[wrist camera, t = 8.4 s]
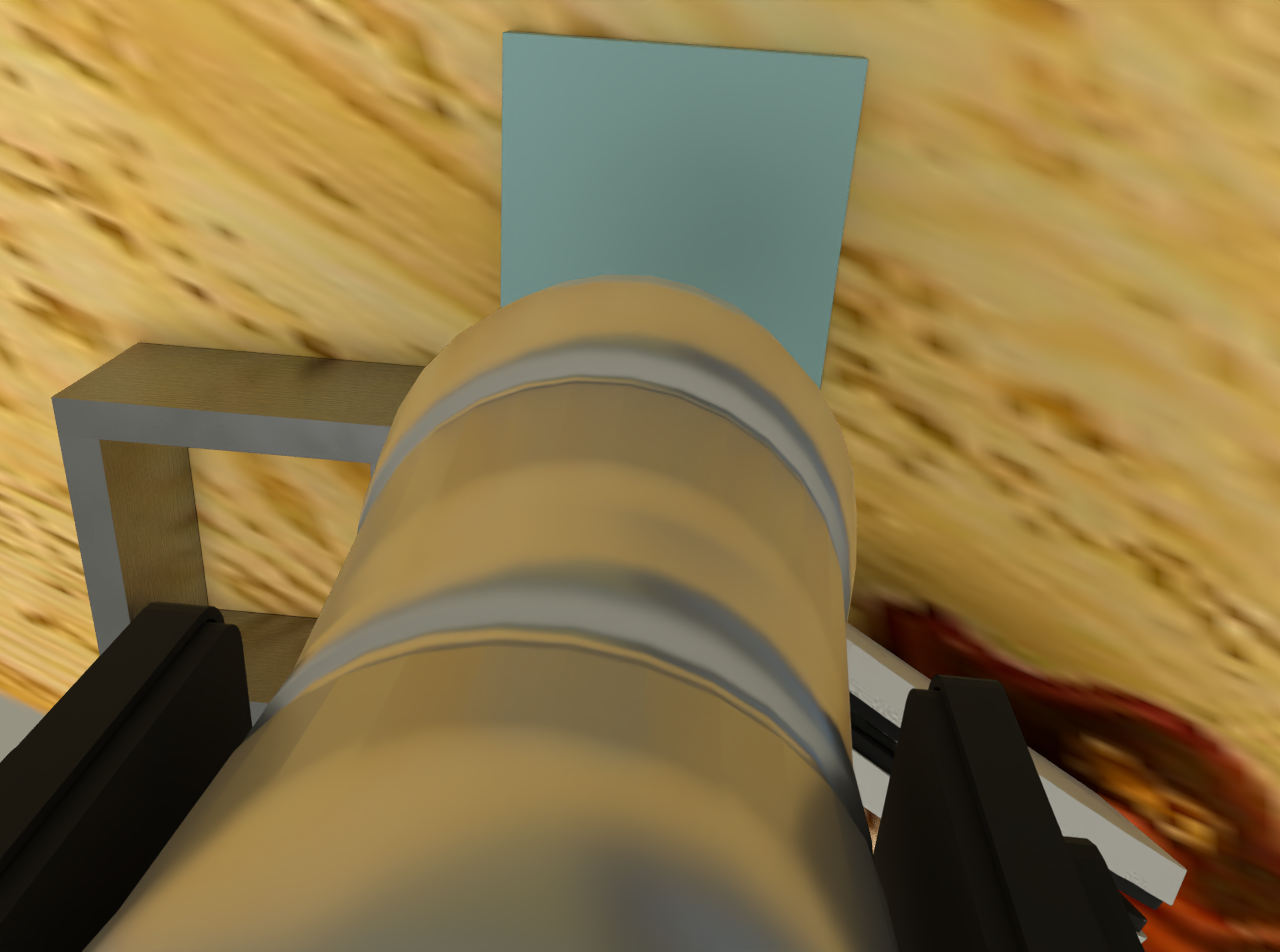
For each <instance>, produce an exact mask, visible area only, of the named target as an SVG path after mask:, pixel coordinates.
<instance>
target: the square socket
mask: <svg viewBox="0 0 1280 952" xmlns="http://www.w3.org/2000/svg"><path fill="white" fill-rule="evenodd" d="M424 368H425V367H418V366H406V365H394V364H383V363H371V362H359V361H347V360H335V359H323V358H312V357H300V356H288V355H276V354H264V353H253V352H241V351H229V350H217V349H205V348H194V347H182V346H170V345H158V344H146V343H137V344H135V345H134V346H132V347H131V348H129V349H128V350H126V351H124V352H123V353H121V354H120V355H118V356H116V357H115V358H113V359H112V360H110V361H108V362H107V363H105V364H104V365H102V366H100V367H99V368H97V369H96V370H94V371H92V372H91V373H89V374H88V375H86V376H85V377H83V378H81V379H80V380H78V381H77V382H75V383H73V384H72V385H70V386H69V387H67V388H65V389H64V390H62V391H61V392H59V393H57V394H56V395H54V396H53V397H51V398H52V404H53V409H54V414H55V420H56V425H57V430H58V435H59V441H60V446H61V451H62V457H63V462H64V467H65V473H66V478H67V483H68V489H69V494H70V499H71V504H72V510H73V515H74V520H75V526H76V531H77V536H78V542H79V547H80V552H81V558H82V563H83V568H84V574H85V579H86V584H87V589H88V595H89V600H90V605H91V611H92V616H93V621H94V627H95V632H96V637H97V643H98V648H99V653H100V655H101V654H102V653H103V652H104V651H105V650H106V649H107V648H108V647H109V646H110V644H111V643H112V642H113V641H114V640H115V639H116V638H117V637H118V636H119V635H120V634H121V632H122V631H123V630H124V629H125V628H126V627H127V626H128V625H129V624H130V623H131V622H132V620H133V619H134V618H135V617H136V616H137V615H138V614H139V613H140V612H141V611H142V610H143V608H145V607H146V606H147V605H149V604H150V603H152V602H158V601H159V602H169V603H180V604H191V605H201V606H208V600H207V593H206V585H205V578H204V570H203V562H202V555H201V547H200V540H199V532H198V524H197V517H196V509H195V502H194V494H193V486H192V479H191V471H190V464H189V456H188V449H187V447H192V448H203V449H214V450H226V451H237V452H248V453H260V454H271V455H282V456H294V457H305V458H317V459H328V460H339V461H351V462H362V463H371V478H372V475H373V473H374V470H375V467H376V464H377V462H378V459H379V456H380V454H381V451H382V449H383V446H384V444H385V441H386V438H387V436H388V433H389V431H390V428H391V426H392V423H393V421H394V418H395V416H396V413H397V411H398V408H399V407H400V405H401V403H402V402H403V400H404V399H405V397H406V396H407V394H408V393H409V391H410V389H411V388H412V386H413V385H414V383H415V382H416V380H417V379H418V377H419V375H420V374H421V372H422V371H423V369H424ZM220 612H221V614H222V615H223V617H224V622H225V623H226V624H234V625H236V626H238V628H239V630H240V632H241V636H242V642H243V651H244V660H245V668H246V677H247V685H248V694H249V703H250V711H251V720H252V727H253V726H254V724H255V723H256V722H257V720H258V719H259V717H260V716H261V714H262V713H263V711H264V710H265V708H266V707H267V705H268V704H269V702H270V701H271V700H272V698H273V697H274V696H275V694H276V693H277V692H278V690H279V689H280V688H281V686H282V685H283V683H284V682H285V681H286V679H287V678H288V677H289V675H290V674H291V673H292V671H293V669H294V667H295V665H296V663H297V661H298V659H299V657H300V655H301V653H302V651H303V649H304V646H305V644H306V642H307V640H308V638H309V636H310V634H311V632H312V630H313V628H314V625H315V623H316V621H317V619H314V618H303V617H292V616H282V615H271V614H260V613H249V612H239V611H228V610H220Z"/></svg>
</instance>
